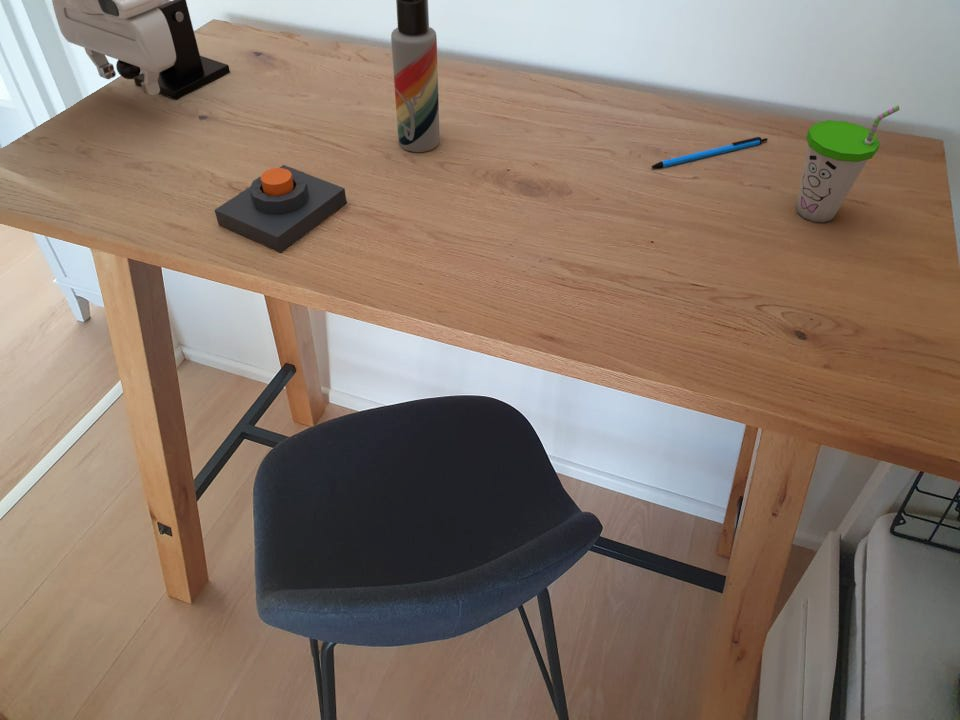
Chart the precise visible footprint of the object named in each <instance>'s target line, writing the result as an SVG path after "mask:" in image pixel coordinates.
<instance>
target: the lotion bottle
mask: <svg viewBox="0 0 960 720" xmlns="http://www.w3.org/2000/svg"><path fill="white" fill-rule="evenodd" d="M395 2H396V3H395V5H396V22H397V23H396V24H397V27H396V28H394V29H393V30H392V32H391V34H390V41H391V43H390V44H391V55H392V56H391V57H392V70H393V71H392V72H393V84H394V98H395V113H396V129H397V137H398V145H400V147H402V149H404V150H405V151H408V152H412V153H425V152H429V151H433V150H434V149H435V148H437V146H438V145H439V144H440V107H439V106H440V105H439V104H440V103H439V100H440V99H439V71H438V70H439V69H438V65H439V64H438V39H437V37H438V36H437V32H436V30H435V29H434V28H432V27H431V26H430V17H429V15H430V14H429V0H395Z"/></svg>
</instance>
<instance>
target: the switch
mask: <svg viewBox="0 0 960 720" xmlns="http://www.w3.org/2000/svg"><path fill="white" fill-rule="evenodd" d="M170 1H171V0H162V4H161V5H163V4H166V3H168V2H170ZM161 5H159V6H161ZM157 7H158V6H157ZM115 66H116V71H117V73H118V74H119V75H120V76H121V77H122V78H124V79H125V80H131V81H132V80H134V79H135V78H137V77H138V76H139V74H141V70H140V67H137V66H135V65H132V64H129V63H126V62H123V61H121V60H118V59H117V61H116V65H115Z"/></svg>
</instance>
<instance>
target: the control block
mask: <svg viewBox="0 0 960 720" xmlns="http://www.w3.org/2000/svg"><path fill="white" fill-rule="evenodd" d="M279 168H284V169H287V170H289V171H290V172H291V174H292V179H293V184H294V189H293V191H291V192H290V193H288V194H284V195H280V196H269V195H267V194H265V193H264V191H263V187H262V183H261V175H260V176H258V177H257V178H255V179H254V180H253V181H252V182H251V184H250V186H249V187H247V188H245V189H244V190H243V191H241V192H240V193H238V194H237V195H235V196H234V197H232V198H230V199H229V200H228V201H225V202H224V203H223V204H221V205H220V206H218V207H217V208H215V209H214V213H215V217H216V221H217V223H218V226H220V227H222V228H225V229H227V230H229V231H231V232H233V233H235V234H238V235H240V236H242V237H245V238H247V239H249V240H252V241H254V242H256V243H258V244H261V245H263V246H265V247H267V248H270V249H272V250H275V251H276V252H279V253H282V252H284V251H285V250H286V249H287V248H289V247H291V245H293V244H295V243H296V242H297V241H298V240H300V239H301V238H302V237H303V236H305V235H306V234H307V233H309V232H310V231H312V230H313V229H314V228H316V227H317V226H319V225H320V224H321V223H322V222H324V221H326V219H328V218H330V217H331V216H332V215H333V214H334V213H335V212H337V211H338V210H340V209H341V208H343V207H344V206H345V205H346V204H347V203H348V202H347V194H346V189H345V187H342V186H339V185H337V184H334V183H332V182H330V181H327V180H324V179H322V178H319V177H317V176H313V175H311V174H309V173H306V172H303V171H300V170H298V169H295V168H294V167H290V166H288V165H285V164H283V165H281V166H280V167H279Z"/></svg>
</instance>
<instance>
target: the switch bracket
mask: <svg viewBox="0 0 960 720" xmlns="http://www.w3.org/2000/svg"><path fill="white" fill-rule="evenodd" d="M157 8H159V9H160V10H161V12H162V13H163V14H164V16H165V18H166V20H167V23H168V26H169V29H170V33H171V36H172V40H173V44H174V48H175V53H176V61H175V63H174V65H173V66H172V67H170V68H168V69H166V70H164V71H162V72H160V73H159V77H158V84H159V88H160V92H159V93H158V94H160V95H162V96H165V97H168V98H171V99H175V100H179V99H181V98H182V97H184V96H186V95H189V94H190V93H193V92H194V91H196V90H198V89H200V88H202V87H204V86H206V85H208V84H210V83H212V82H214V81H216V80H217V79H220V78H221V77H224V76H225V75H227V74H229V73H230V72H231V71H230V65H229V64H227V63H223V62H221V61H218V60H214V59H212V58H208V57H206V56H203V55H201V54H200V50H199V46H198V42H197V38H196V35H195V30H194V27H193V23H192V19H191V14H190V11H189V6H188V3H187V0H170V2H168V3H166V4H163V5H161V6H158V7H157ZM144 76H145V74H143V73H141V72H140V74H139V76H138V77H137V78H135V79H133V81H134V84H135V85H136V86H138V87H141V88H142V86H141V82H143V81H144Z"/></svg>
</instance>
